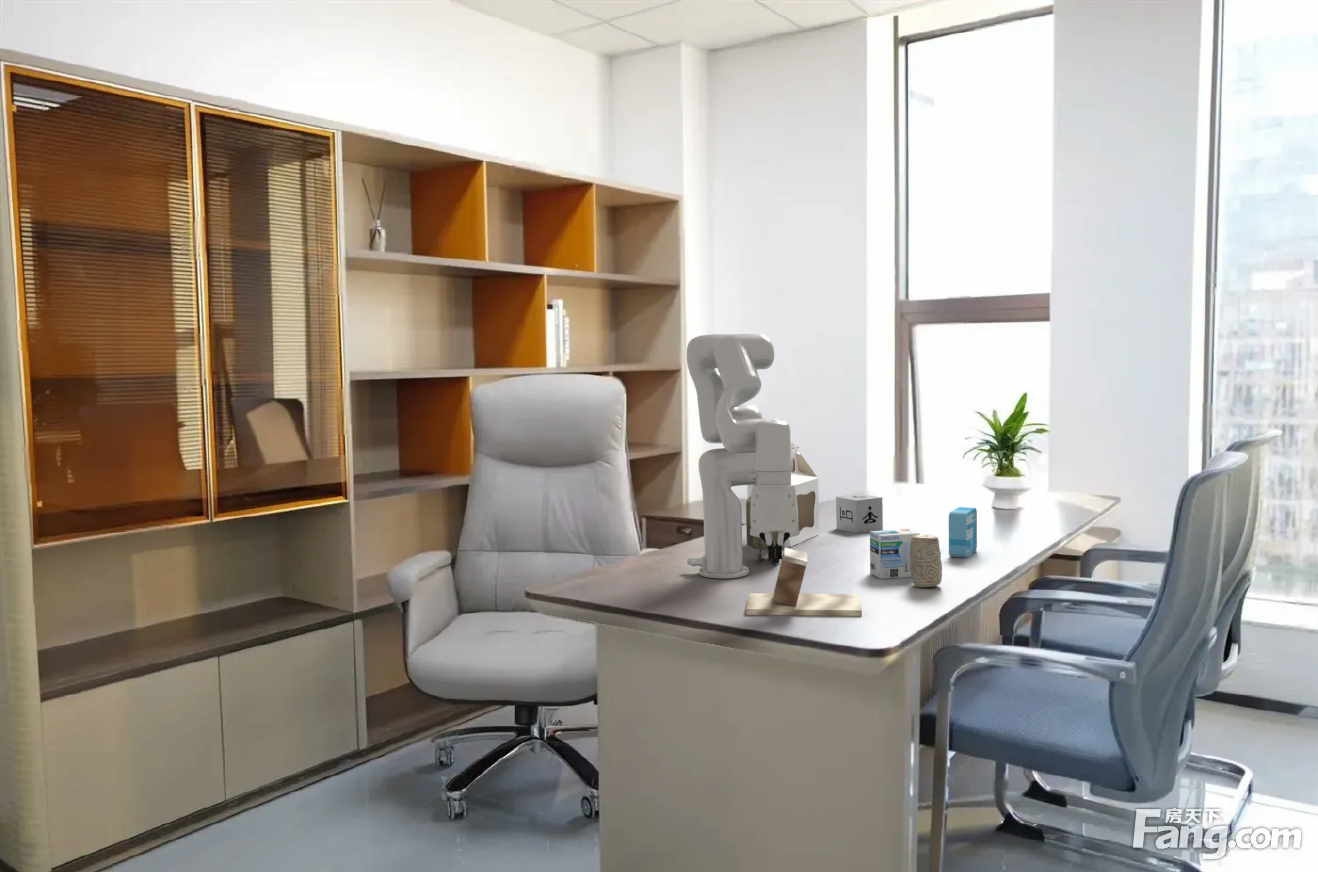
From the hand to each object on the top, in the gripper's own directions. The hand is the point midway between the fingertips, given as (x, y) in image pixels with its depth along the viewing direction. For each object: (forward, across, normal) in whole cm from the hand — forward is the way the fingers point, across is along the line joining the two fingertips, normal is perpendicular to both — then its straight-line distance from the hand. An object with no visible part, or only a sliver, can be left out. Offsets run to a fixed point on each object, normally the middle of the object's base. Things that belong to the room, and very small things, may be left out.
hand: (775, 562), depth 214 cm
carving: (+10, +34, +20) cm, 41 cm away
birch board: (+10, +6, 0) cm, 11 cm away
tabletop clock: (+10, -5, +49) cm, 50 cm away
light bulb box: (+10, +28, +32) cm, 44 cm away
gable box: (+10, -1, +79) cm, 80 cm away
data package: (+10, +47, +59) cm, 76 cm away
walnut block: (+8, +2, 0) cm, 8 cm away
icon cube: (+10, +22, +97) cm, 100 cm away
